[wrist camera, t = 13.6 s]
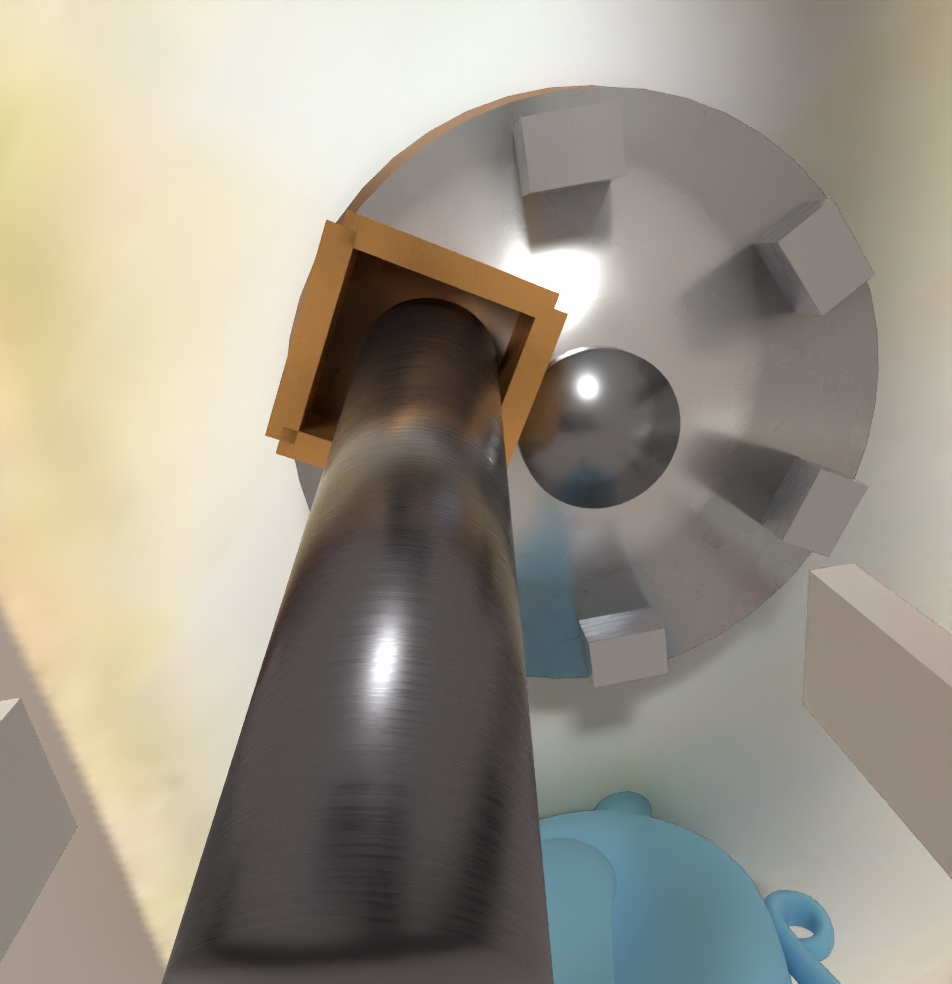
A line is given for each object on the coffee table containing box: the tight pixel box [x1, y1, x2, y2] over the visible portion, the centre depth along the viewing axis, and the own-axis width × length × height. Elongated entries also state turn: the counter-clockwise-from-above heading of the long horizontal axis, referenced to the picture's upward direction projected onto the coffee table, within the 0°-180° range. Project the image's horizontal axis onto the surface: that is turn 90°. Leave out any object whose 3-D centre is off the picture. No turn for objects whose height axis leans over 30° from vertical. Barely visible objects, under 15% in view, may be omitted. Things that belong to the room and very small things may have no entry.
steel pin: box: [162, 297, 554, 984], centre depth 14 cm, size 4×4×16 cm
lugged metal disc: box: [265, 87, 878, 688], centre depth 22 cm, size 19×19×4 cm
